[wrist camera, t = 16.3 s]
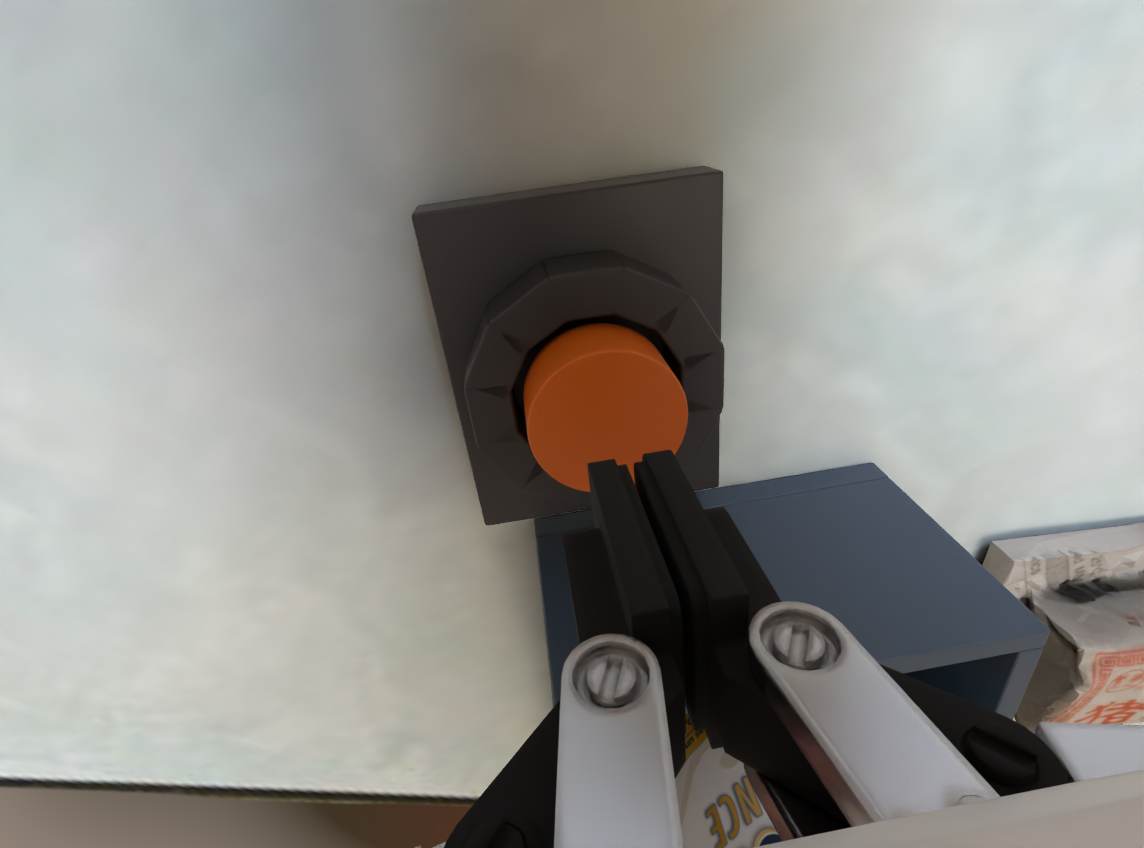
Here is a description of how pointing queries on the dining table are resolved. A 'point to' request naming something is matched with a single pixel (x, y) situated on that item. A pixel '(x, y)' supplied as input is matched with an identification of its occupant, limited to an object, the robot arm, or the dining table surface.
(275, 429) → the dining table surface
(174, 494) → the dining table surface
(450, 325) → the box
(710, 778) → the beverage bottle
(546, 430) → the call button
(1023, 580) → the packaged product
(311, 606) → the dining table surface
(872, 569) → the blue box
